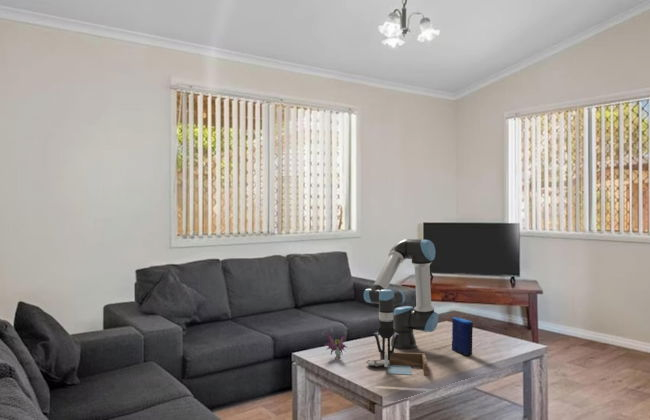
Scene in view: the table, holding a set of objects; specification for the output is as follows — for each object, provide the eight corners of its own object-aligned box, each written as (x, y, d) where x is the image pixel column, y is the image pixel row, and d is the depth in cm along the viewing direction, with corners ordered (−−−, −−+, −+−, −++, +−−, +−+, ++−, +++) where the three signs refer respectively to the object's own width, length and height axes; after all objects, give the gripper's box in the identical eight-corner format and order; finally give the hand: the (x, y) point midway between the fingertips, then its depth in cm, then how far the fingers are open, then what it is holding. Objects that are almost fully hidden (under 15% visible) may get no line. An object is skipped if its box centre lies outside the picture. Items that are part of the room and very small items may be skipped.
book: (450, 350, 285) (450, 316, 285) (457, 349, 287) (457, 315, 287) (466, 357, 271) (465, 321, 272) (473, 356, 273) (473, 320, 274)
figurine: (350, 357, 271) (350, 330, 271) (347, 361, 263) (347, 333, 263) (327, 355, 275) (327, 328, 275) (323, 359, 267) (323, 332, 267)
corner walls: (380, 362, 261) (380, 351, 261) (425, 364, 257) (425, 353, 257) (379, 373, 243) (379, 361, 243) (427, 375, 240) (427, 363, 240)
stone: (369, 369, 248) (369, 362, 248) (364, 364, 257) (364, 358, 257) (391, 366, 251) (391, 360, 251) (386, 362, 260) (385, 356, 260)
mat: (387, 365, 256) (387, 364, 256) (410, 366, 255) (410, 365, 255) (387, 373, 242) (387, 373, 242) (411, 375, 241) (411, 374, 241)
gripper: (373, 321, 246) (372, 367, 245) (399, 322, 244) (399, 369, 244) (373, 318, 253) (373, 363, 253) (399, 319, 251) (399, 364, 251)
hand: (386, 366), depth 248 cm, fingers closed, pressing on stone
